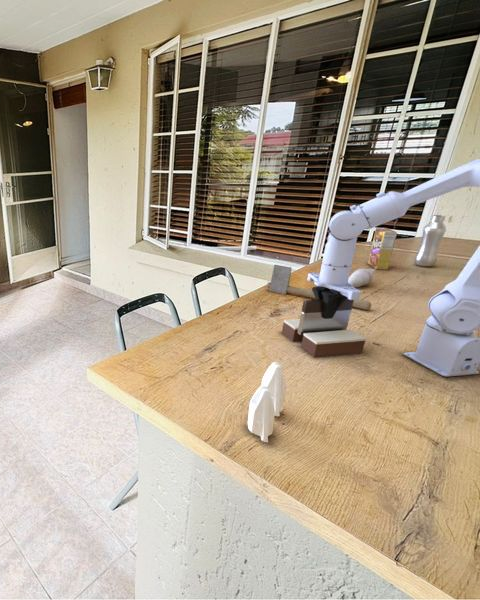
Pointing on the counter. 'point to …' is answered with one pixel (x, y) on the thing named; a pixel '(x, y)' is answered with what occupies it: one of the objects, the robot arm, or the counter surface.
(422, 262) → the silver bottle
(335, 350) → the cake near half
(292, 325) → the cake far half
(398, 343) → the counter surface
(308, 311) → the wide flat blade
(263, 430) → the shaker set
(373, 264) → the candy box
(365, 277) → the white rounded oblong piece
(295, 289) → the long-handled mallet
